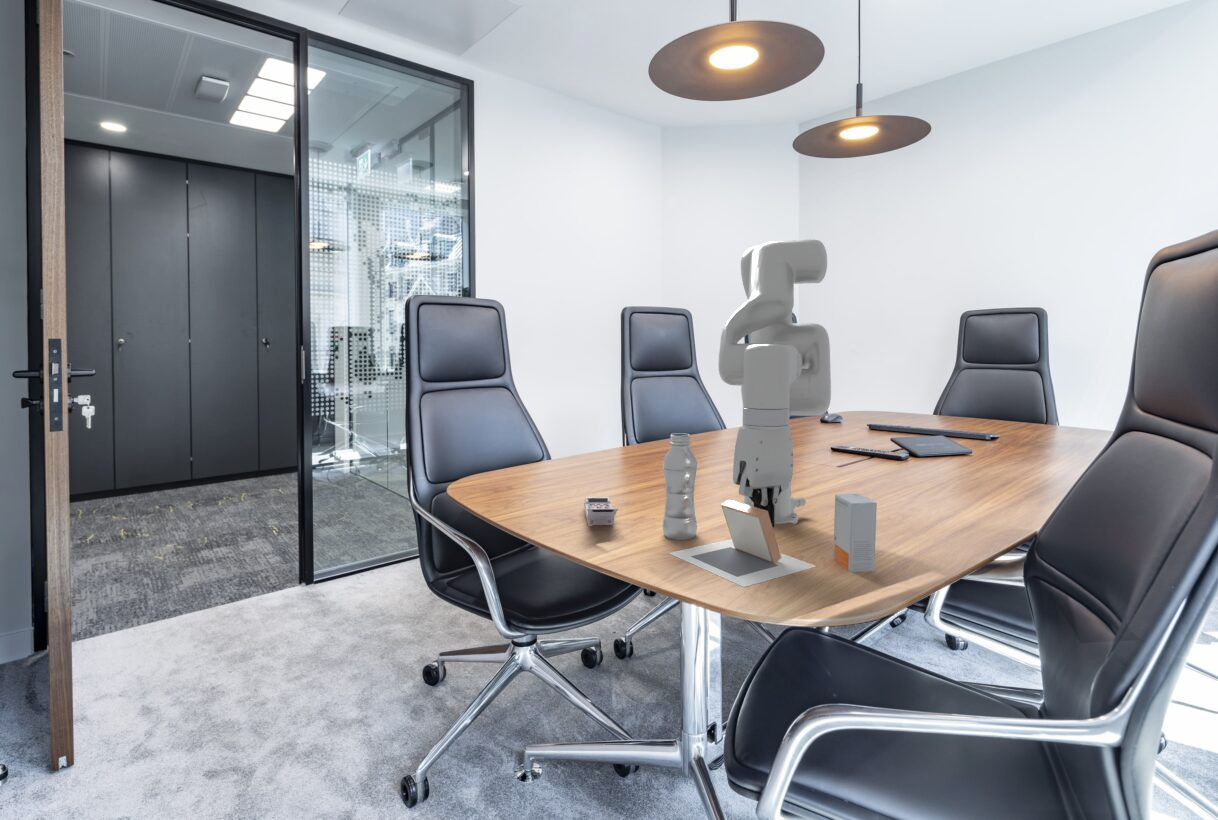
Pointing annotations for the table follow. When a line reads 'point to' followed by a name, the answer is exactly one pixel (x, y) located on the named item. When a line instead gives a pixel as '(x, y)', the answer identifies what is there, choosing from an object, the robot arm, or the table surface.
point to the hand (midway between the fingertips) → (763, 526)
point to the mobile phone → (599, 511)
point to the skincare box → (854, 532)
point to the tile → (751, 530)
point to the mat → (739, 563)
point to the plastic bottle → (679, 489)
